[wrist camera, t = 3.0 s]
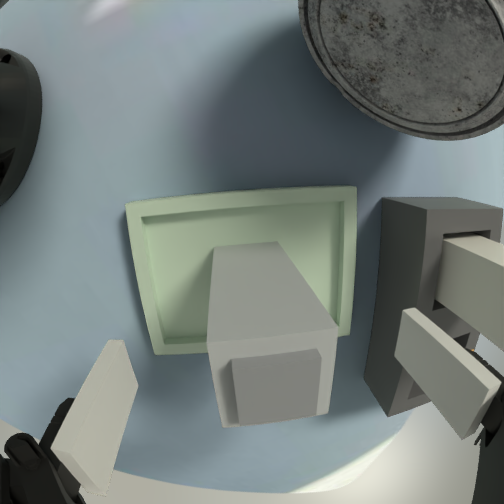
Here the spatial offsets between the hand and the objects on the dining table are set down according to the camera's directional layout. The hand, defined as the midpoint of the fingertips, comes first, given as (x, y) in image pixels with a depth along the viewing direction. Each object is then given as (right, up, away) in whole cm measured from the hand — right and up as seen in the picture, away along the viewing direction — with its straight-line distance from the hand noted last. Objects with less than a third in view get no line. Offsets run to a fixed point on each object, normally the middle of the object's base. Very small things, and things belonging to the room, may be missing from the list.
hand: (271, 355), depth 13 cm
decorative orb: (+9, +20, +6) cm, 23 cm away
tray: (-1, +3, +10) cm, 10 cm away
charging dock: (+14, +1, +12) cm, 19 cm away
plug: (-1, +3, +9) cm, 10 cm away
